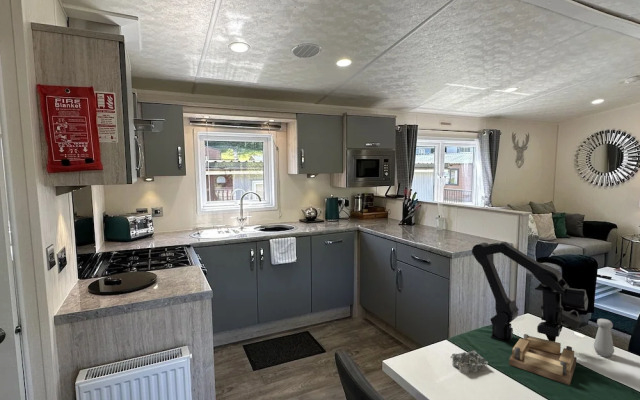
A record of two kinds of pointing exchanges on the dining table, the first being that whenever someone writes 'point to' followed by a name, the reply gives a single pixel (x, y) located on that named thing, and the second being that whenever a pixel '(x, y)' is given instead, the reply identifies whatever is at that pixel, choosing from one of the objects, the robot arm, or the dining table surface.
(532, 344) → the hinged leg
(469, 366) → the grey jagged rock
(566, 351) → the wooden slat frame
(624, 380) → the dining table surface
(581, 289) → the robot arm
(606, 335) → the salt shaker
